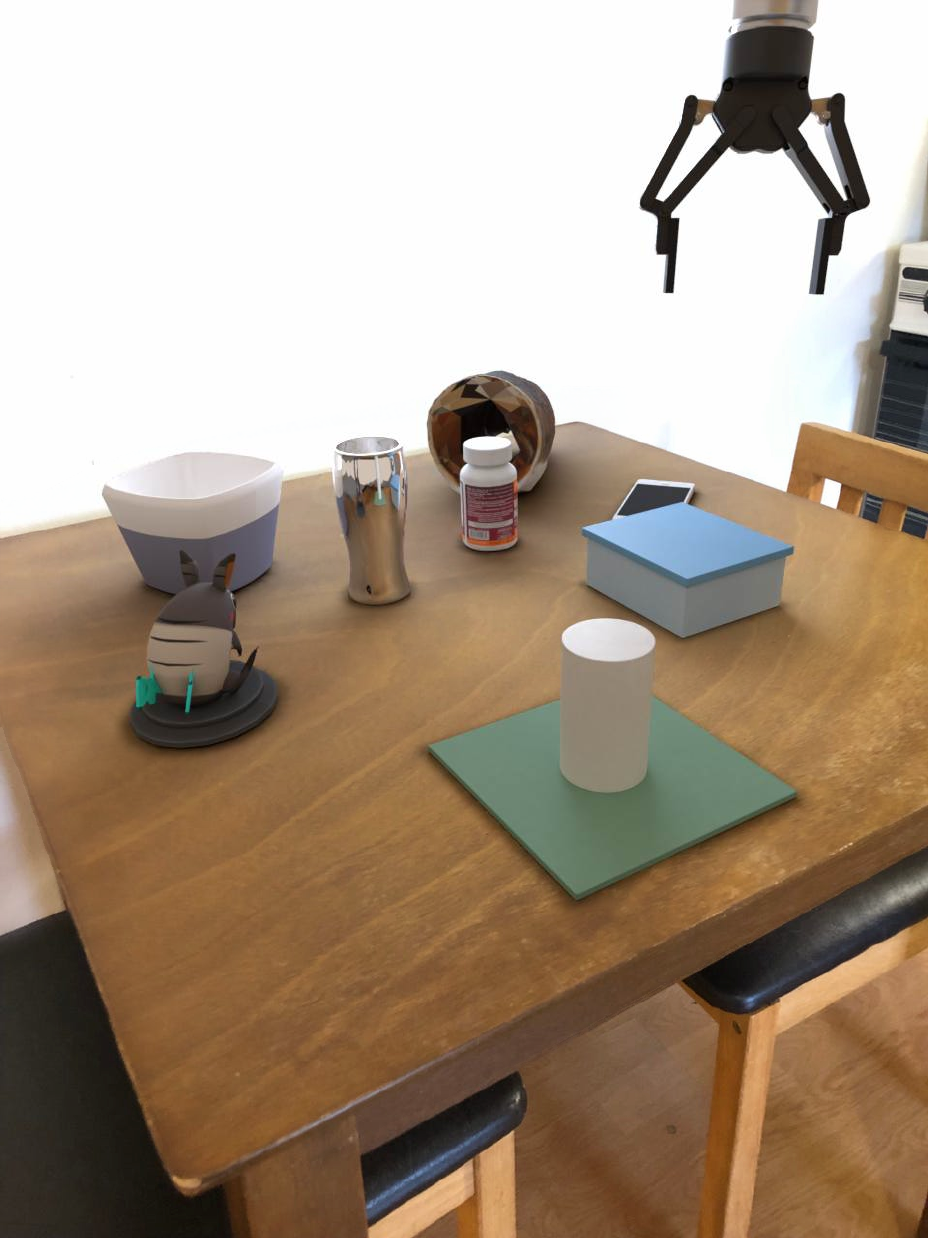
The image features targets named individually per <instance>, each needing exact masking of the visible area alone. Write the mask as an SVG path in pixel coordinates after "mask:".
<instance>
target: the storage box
mask: <svg viewBox="0 0 928 1238" xmlns="http://www.w3.org/2000/svg"><path fill="white" fill-rule="evenodd" d="M581 535H582V536H583V537H584V538H587V553H586V582H585V583H586V585H587V586H589V587H591V588H593V589H594V590H596V591H598V592H599V593H601V594H603V595H605V596H607V597H608V598H610V599H612V600H614V601H616V602H617V603H618V604H621V605H622V606H624V607H627V609H630V610H631V611H633V612H635V613H637V614H639V615H640V616H642V617H644V618H646V619H647V620H649V621H651V622H652V623H655V624H656V625H658V626H660V627H661V628H663V629H665V630H666V631H669V632H671V633H673V634H674V635H676V636H678V637H679V638H681V639H685V638H688V637H691V636H693V635H697V634H700V633H702V632H705V631H708V630H711V629H715V628H718V627H720V626H723V625H726V624H729V623H732V622H735V621H737V620H742V619H743V618H746V617H749V616H752V615H756V614H759V613H762V612H765V611H767V610H770V609H772V608H773V609H774V608H776V607H779V606H780V605H781V599H782V590H783V585H784V583H783V582H784V577H785V575H784V574H785V567H786V560H787V557H789V556H792V555H794V551H795V550H794V549H795V546H794V545H791V544H789V543H787V542H784V541H781V540H779V539H776V538H774V537H771V536H769V535H766V534H763V533H761V532H759V531H756V530H753V529H751V528H749V527H746V526H744V525H741V524H739V523H736V522H735V521H734V522H733V521H731V520H729V519H726V518H724V517H721V516H719V515H716V514H714V513H712V512H709V511H707V510H705V509H704V510H703V509H701V508H698V507H696V506H693V505H691V504H689V503H688V504H686V503H683V502H680V503H677V504H673V505H669V506H665V507H661V508H657V509H653V510H649V511H645V512H641V513H638V514H634V515H630V516H626V517H622V518H618V519H614V520H612V519H610V520H606V521H603V522H598V523H595V524H591V525H586V526H584V527H581Z"/></svg>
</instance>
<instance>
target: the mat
mask: <svg viewBox="0 0 928 1238" xmlns="http://www.w3.org/2000/svg"><path fill="white" fill-rule="evenodd" d="M560 703H561V698H560V699H557V700H554V701H550V702H549V703H545V704H543V705H539V706H537V707H534V708H531V709H528V710H525V711H522V712H520V713H517V714H513V715H511V716H509V717H505V718H503V719H500V720H497V721H495V722H491V723H488V724H485V725H483V726H480V727H477V728H475V729H471V730H469V731H468V730H467V731H466V732H463V733H460V734H457V735H455V736H452V737H448V738H446V739H444V740H440V741H436V742H435V743H432V744H429V745H428V752H429V753H431V754H430V755H432V756H433V757H434V758H435V759H436V760H437V761H438V762H439V763H440V764H441V765H442V766H443V767H444V768H445V769H446V770H447V771H448V772H449V773H450V774H451V775H452V777H454V778H455V779H456V780H457V781H458V782H459V783H460V785H461V786H463V787H464V788H465V790H466V791H468V792H469V794H470V795H471V796H472V797H473V798H475V800H477V802H478V803H479V804H480V805H481V806H483V808H484V809H485V810H486V811H487V812H488V813H489V814H490V815H491V816H493V818H494V819H495V820H496V821H497V822H498V823H499V824H500V825H501V826H502V827H503V828H504V829H505V830H506V831H507V832H508V833H509V834H510V835H511V836H512V837H513V838H514V839H515V840H516V841H517V842H518V843H519V844H520V845H521V847H523V848H524V849H525V850H526V851H527V852H528V853H529V854H530V856H532V858H534V859H535V860H536V862H538V864H540V866H541V867H542V868H543V869H544V870H546V872H547V873H548V874H549V875H550V876H551V877H552V878H553V879H554V880H555V881H556V882H557V883H558V884H559V885H560V886H561V887H562V888H563V889H564V890H565V891H566V892H567V893H568V894H569V895H570V896H571V897H572V898H573V899H574V900H575V901H576V902H577V901H580V900H581V899H583V898H585V897H588V896H590V895H592V894H594V893H596V892H598V891H600V890H602V889H605V888H607V887H609V886H610V885H613V884H615V883H617V882H619V881H621V880H624V879H626V878H628V877H630V876H632V875H634V874H636V873H638V872H641V871H642V870H645V869H647V868H649V867H651V866H653V865H656V864H657V863H659V862H661V861H664V860H666V859H668V858H670V857H672V856H675V855H676V854H678V853H682V852H683V851H685V850H687V849H689V848H691V847H693V846H695V845H698V844H700V843H703V842H704V841H706V840H709V839H710V838H713V837H714V836H717V835H719V834H721V833H723V832H725V831H728V830H730V829H732V828H734V827H736V826H738V825H741V824H742V823H744V822H746V821H749V820H751V819H752V818H754V817H757V816H759V815H761V814H763V813H766V812H768V811H770V810H773V809H774V808H776V807H778V806H781V805H782V804H785V803H787V802H788V801H791V800H793V799H795V798H797V797H798V790H797V789H795V788H793V787H792V786H791V785H789V784H788V783H786V782H784V781H782V780H781V779H780V778H778V777H777V776H775V775H774V774H772V772H771V773H770V772H769V771H768V770H766V769H764V768H763V767H761V766H760V765H759V764H757V763H755V762H754V761H752V759H751V760H750V759H749V758H747V756H744V755H743V754H742V753H741V752H739V751H738V750H736V749H734V748H733V747H731V746H729V745H728V744H727V743H726V742H723V741H722V740H721V739H719V738H717V737H716V736H715V735H713V734H712V733H710V732H709V731H708V730H706V729H704V728H703V727H701V726H699V725H698V724H697V723H695V722H693V721H691V720H690V719H689V718H687V717H686V716H684V715H683V714H681V713H680V712H678V711H676V710H675V709H673V708H672V707H671V706H668V704H666V703H664V702H663V701H661V700H660V699H659V698H657V697H655V696H654V695H652V704H651V719H650V734H649V749H648V764H647V773H646V776H645V778H644V779H643V780H642V781H641V782H640V783H639V784H638V785H636V786H635V787H633V788H631V789H628V790H625V791H621V792H613V793H601V792H593V791H589V790H585V789H582V788H580V787H578V786H576V785H574V784H572V783H571V782H569V781H568V780H567V779H566V778H565V777H564V776H563V774H562V772H561V770H560Z"/></svg>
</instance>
